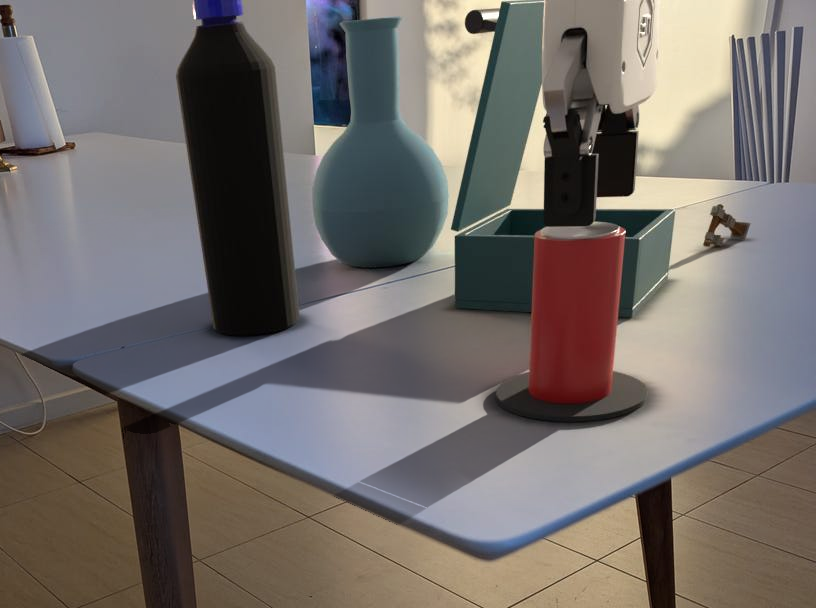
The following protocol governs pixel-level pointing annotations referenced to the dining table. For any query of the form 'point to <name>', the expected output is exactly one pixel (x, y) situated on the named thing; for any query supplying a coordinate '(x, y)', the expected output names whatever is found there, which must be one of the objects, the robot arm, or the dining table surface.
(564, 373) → the can
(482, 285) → the teal rectangular open box
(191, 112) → the bottle
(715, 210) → the wooden post with brackets
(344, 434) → the dining table surface
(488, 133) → the lid
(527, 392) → the coaster
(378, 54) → the vase
